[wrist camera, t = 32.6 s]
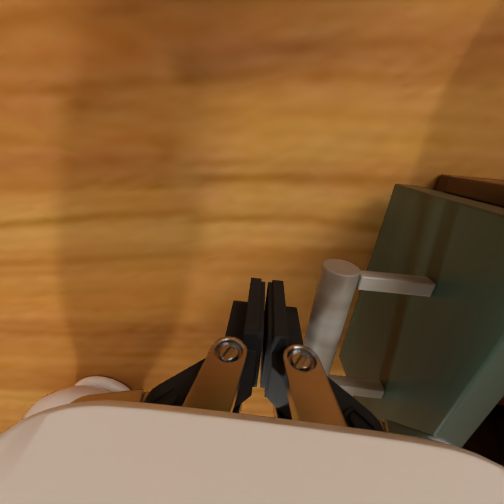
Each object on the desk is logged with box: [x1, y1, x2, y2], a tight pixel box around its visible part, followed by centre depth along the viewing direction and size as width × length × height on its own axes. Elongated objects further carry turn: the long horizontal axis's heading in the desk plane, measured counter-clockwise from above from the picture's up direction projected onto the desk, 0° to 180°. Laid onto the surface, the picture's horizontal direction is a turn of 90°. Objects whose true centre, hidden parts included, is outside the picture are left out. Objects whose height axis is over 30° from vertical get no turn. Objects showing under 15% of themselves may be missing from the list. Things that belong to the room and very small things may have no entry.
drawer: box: [303, 184, 504, 466], centre depth 11 cm, size 19×12×8 cm, turn 85°
